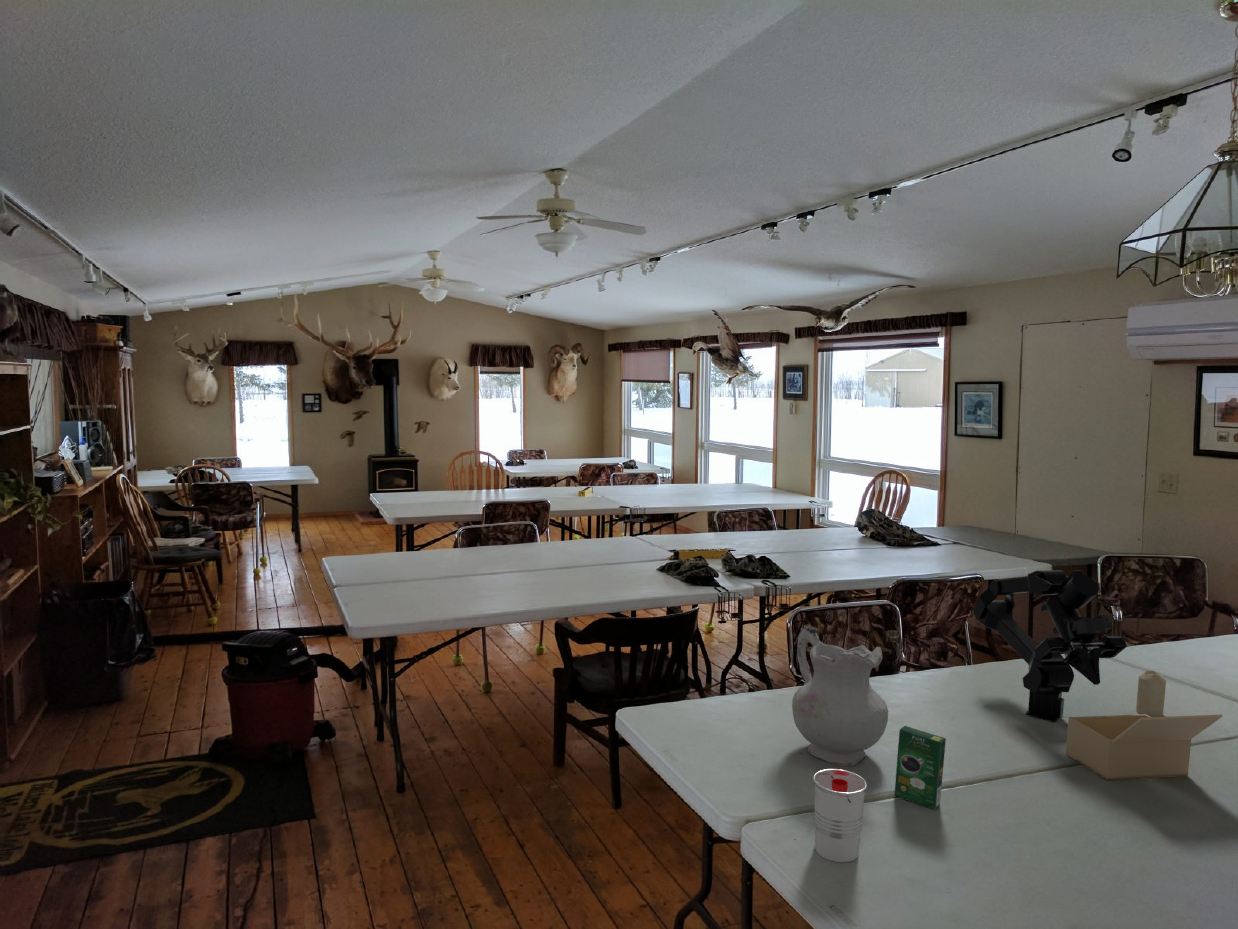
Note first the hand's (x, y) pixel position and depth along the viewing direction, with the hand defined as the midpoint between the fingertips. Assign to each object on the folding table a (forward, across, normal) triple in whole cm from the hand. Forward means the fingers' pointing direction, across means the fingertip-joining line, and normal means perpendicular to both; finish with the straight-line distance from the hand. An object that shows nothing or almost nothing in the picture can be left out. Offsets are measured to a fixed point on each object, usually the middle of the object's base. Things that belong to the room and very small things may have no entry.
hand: (1097, 684), depth 182 cm
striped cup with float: (+34, -72, -14) cm, 81 cm away
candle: (-1, +27, +21) cm, 34 cm away
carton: (+16, 0, +3) cm, 17 cm away
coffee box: (+24, -51, -4) cm, 56 cm away
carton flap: (+15, 0, -12) cm, 19 cm away
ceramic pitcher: (+8, -58, +12) cm, 60 cm away
